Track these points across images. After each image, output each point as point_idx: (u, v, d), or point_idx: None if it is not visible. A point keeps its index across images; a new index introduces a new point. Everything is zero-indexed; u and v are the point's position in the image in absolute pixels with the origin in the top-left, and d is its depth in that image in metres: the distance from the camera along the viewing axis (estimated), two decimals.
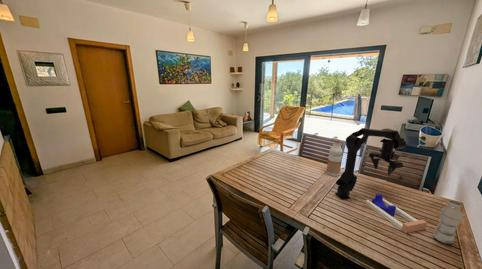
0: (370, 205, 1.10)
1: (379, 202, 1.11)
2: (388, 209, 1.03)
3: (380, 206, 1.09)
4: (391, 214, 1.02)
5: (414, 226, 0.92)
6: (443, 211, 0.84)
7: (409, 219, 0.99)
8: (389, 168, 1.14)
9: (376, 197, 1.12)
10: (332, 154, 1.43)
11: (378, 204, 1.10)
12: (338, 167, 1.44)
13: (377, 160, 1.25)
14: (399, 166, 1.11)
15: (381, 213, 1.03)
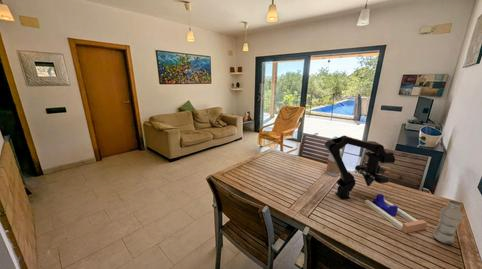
0: (370, 205, 1.10)
1: (380, 202, 1.11)
2: (390, 209, 1.03)
3: (381, 206, 1.09)
4: (393, 214, 1.03)
5: (414, 226, 0.92)
6: (443, 211, 0.84)
7: (409, 219, 0.99)
8: (368, 179, 1.14)
9: (377, 197, 1.12)
10: None
11: (379, 204, 1.10)
12: None
13: None
14: (384, 181, 1.07)
15: (381, 213, 1.03)
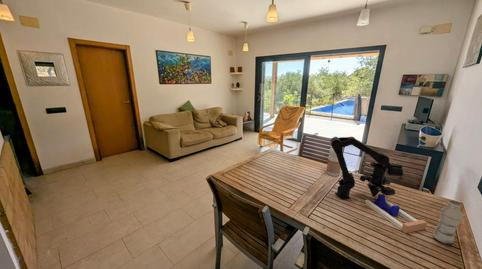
0: (370, 205, 1.10)
1: (382, 202, 1.10)
2: (392, 209, 1.03)
3: (383, 206, 1.09)
4: (395, 214, 1.02)
5: (414, 226, 0.92)
6: (443, 211, 0.84)
7: (409, 219, 0.99)
8: (374, 190, 1.11)
9: (379, 197, 1.12)
10: (332, 154, 1.43)
11: (381, 204, 1.10)
12: (338, 167, 1.44)
13: None
14: (391, 193, 1.04)
15: (381, 213, 1.03)
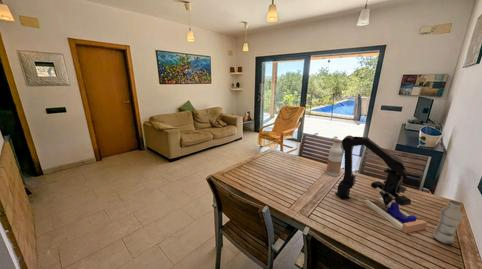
0: (370, 205, 1.10)
1: (396, 211, 1.03)
2: (408, 220, 0.95)
3: (397, 216, 1.01)
4: None
5: (414, 226, 0.92)
6: (443, 211, 0.84)
7: None
8: (386, 199, 1.03)
9: (392, 206, 1.04)
10: (332, 154, 1.43)
11: (395, 214, 1.02)
12: (338, 167, 1.44)
13: None
14: (406, 203, 0.96)
15: (381, 213, 1.03)
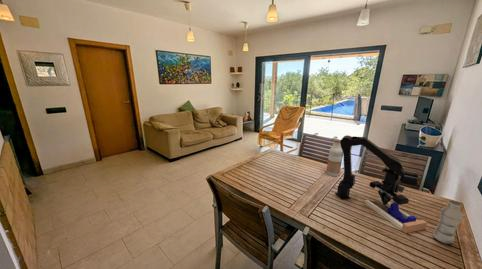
0: (370, 205, 1.10)
1: (395, 212, 1.03)
2: (408, 220, 0.95)
3: (397, 216, 1.01)
4: None
5: (414, 226, 0.92)
6: (443, 211, 0.84)
7: None
8: (385, 198, 1.04)
9: (392, 206, 1.04)
10: (332, 154, 1.43)
11: (395, 214, 1.02)
12: (338, 167, 1.44)
13: None
14: (404, 202, 0.97)
15: (381, 213, 1.03)
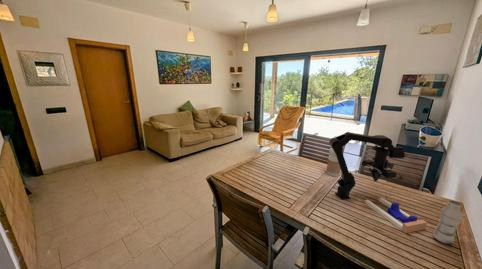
0: (370, 205, 1.10)
1: (396, 211, 1.03)
2: (409, 220, 0.95)
3: (398, 216, 1.01)
4: None
5: (414, 226, 0.92)
6: (443, 211, 0.84)
7: None
8: (375, 174, 1.11)
9: (392, 206, 1.04)
10: (332, 154, 1.43)
11: (395, 214, 1.02)
12: (338, 167, 1.44)
13: None
14: (392, 176, 1.03)
15: (381, 213, 1.03)
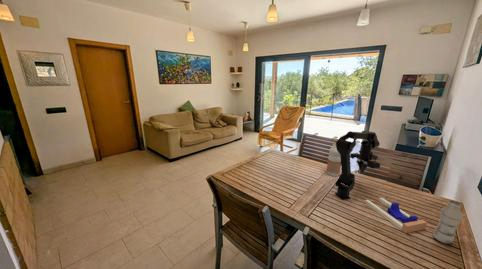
0: (370, 205, 1.10)
1: (396, 211, 1.03)
2: (409, 220, 0.95)
3: (398, 216, 1.01)
4: None
5: (414, 226, 0.92)
6: (443, 211, 0.84)
7: None
8: (362, 165, 1.23)
9: (392, 206, 1.04)
10: (332, 154, 1.43)
11: (396, 214, 1.02)
12: (338, 167, 1.44)
13: None
14: (376, 166, 1.16)
15: (381, 213, 1.03)
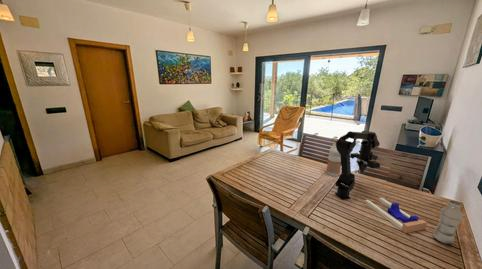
0: (370, 205, 1.10)
1: (396, 212, 1.03)
2: (410, 220, 0.95)
3: (398, 216, 1.01)
4: None
5: (414, 226, 0.92)
6: (443, 211, 0.84)
7: None
8: (361, 165, 1.23)
9: (392, 206, 1.04)
10: (332, 154, 1.43)
11: (396, 214, 1.02)
12: (338, 167, 1.44)
13: None
14: (376, 166, 1.16)
15: (381, 213, 1.03)
